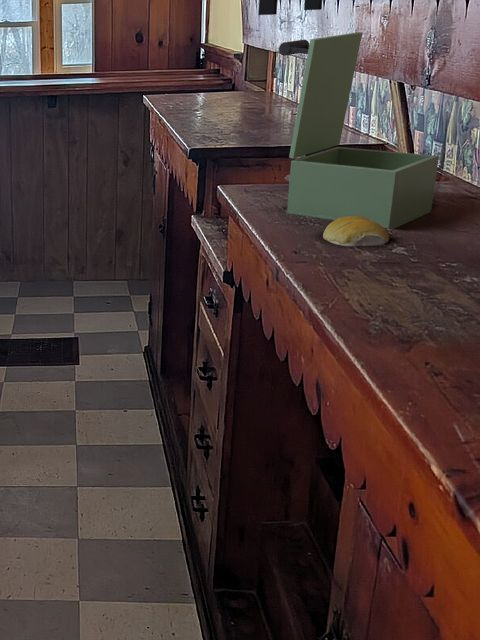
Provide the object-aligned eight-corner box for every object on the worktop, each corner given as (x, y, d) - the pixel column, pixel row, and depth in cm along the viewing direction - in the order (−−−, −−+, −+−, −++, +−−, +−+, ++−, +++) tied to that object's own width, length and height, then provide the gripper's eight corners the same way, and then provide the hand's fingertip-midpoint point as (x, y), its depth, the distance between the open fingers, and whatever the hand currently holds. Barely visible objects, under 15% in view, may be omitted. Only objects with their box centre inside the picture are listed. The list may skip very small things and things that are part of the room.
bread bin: (431, 212, 138) (439, 155, 134) (388, 231, 129) (396, 171, 125) (332, 198, 149) (337, 146, 146) (286, 216, 140) (290, 160, 137)
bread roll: (367, 235, 128) (370, 208, 126) (395, 251, 119) (399, 223, 118) (312, 238, 128) (314, 212, 126) (336, 255, 119) (339, 227, 118)
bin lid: (362, 32, 137) (315, 27, 143) (315, 39, 128) (266, 33, 134) (339, 144, 146) (295, 135, 151) (293, 158, 137) (248, 148, 142)
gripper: (320, -134, 139) (309, 8, 147) (232, -142, 124) (225, 17, 132) (365, -140, 134) (351, 7, 142) (279, -150, 119) (269, 16, 127)
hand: (290, 12), depth 137 cm, fingers open, 13 cm apart
